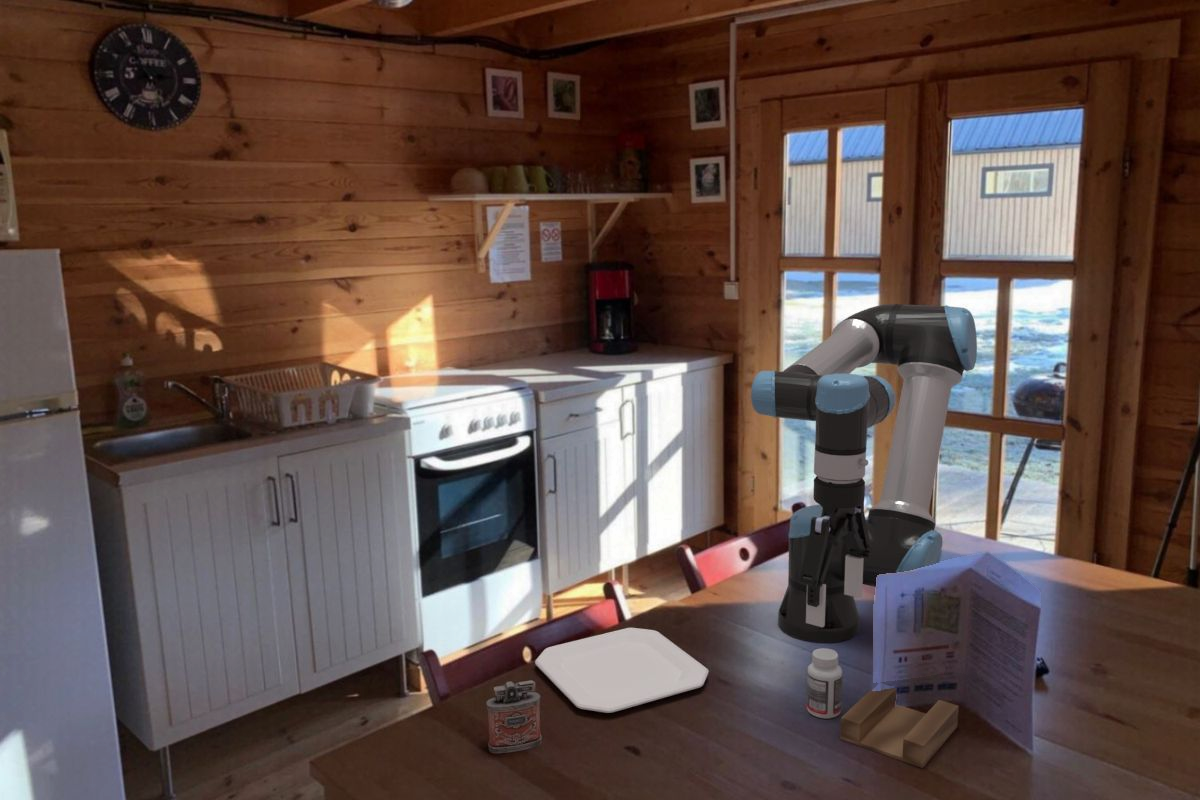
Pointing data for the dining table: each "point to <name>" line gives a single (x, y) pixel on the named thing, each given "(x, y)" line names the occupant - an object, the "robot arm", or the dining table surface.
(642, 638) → the plate
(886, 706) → the groove block
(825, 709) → the pill bottle
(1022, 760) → the dining table surface
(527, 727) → the lighter
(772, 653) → the dining table surface
